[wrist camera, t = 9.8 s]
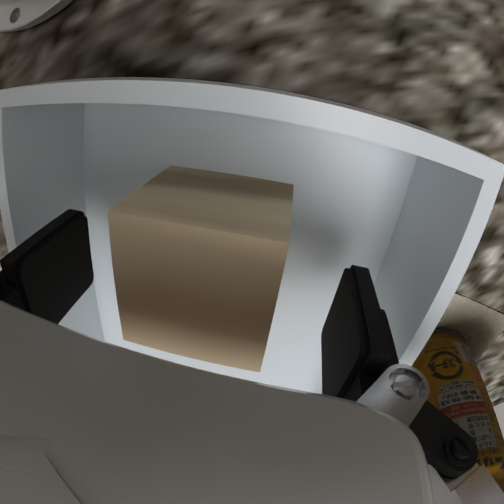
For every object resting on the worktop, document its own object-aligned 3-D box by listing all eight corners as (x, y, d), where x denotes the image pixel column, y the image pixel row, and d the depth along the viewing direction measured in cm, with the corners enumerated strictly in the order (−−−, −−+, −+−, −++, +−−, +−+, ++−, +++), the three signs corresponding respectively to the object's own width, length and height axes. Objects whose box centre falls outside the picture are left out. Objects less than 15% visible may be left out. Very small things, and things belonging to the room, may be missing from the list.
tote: (83, 78, 12) (-8, 91, 7) (432, 131, 11) (506, 166, 6) (113, 383, 22) (84, 439, 17) (306, 429, 21) (302, 494, 17)
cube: (170, 165, 13) (107, 211, 8) (293, 184, 12) (289, 243, 8) (168, 268, 15) (123, 340, 11) (273, 289, 15) (259, 372, 11)
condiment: (349, 384, 19) (352, 570, 8) (428, 280, 14) (511, 516, 4) (432, 401, 19) (457, 551, 8) (509, 315, 15) (585, 481, 4)
